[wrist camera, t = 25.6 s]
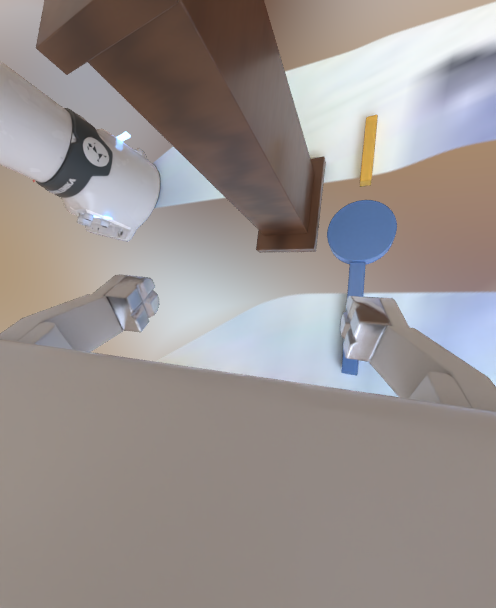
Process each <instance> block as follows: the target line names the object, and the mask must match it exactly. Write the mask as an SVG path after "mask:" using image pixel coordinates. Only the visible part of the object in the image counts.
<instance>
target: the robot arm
mask: <svg viewBox="0 0 496 608" xmlns="http://www.w3.org/2000/svg"><path fill="white" fill-rule="evenodd" d="M129 137H131V136H130V134H128V133H127V132H124V133H123V134H121V135H119V136H118V137H115V136H113V135H112V134H110V133H109V132H107V131H105V130H104V129H97V130H96V129H95V128H94V127H93V126H92V125H91V124H89V123H88V122H87V121H86V120H85V119H84V118H83V117H81V116H80V115H78V114H76V113H74V112H73V111H72V110H70V109H68V108H62V107H61V106H60V105H59V104H57V103H56V102H55V101H53V100H52V99H51V98H49V97H48V96H47V95H45V94H44V93H43V92H41V91H40V90H39V89H37V88H36V87H35V86H33V85H32V84H31V83H29V82H28V81H27V80H25V79H24V78H22V77H21V76H20V75H19V74H17V73H16V72H14V71H13V70H12V69H11V68H9V67H8V66H7V65H5V64H4V63H2V62H0V165H1V166H4V167H6V168H9V169H11V170H13V171H16V172H18V173H20V174H22V175H25V176H27V177H29V178H31V179H33V182H35V181H36V182H37V183H38V184H39V185H40V186H42V187H44V188H45V189H46V190H47V191H49V192H51V193H54V194H55V195H57V196H59V197H61V199H62V201H63V203H64V205H65V208H66V209H67V211H68V212H69V213H71V214H74V215H76V216H78V219H77V223H79V224H82V225H85V228H86V230H87V231H89V232H91V233H95V234H98V235H102V236H106V237H110V238H114V239H118V240H122V241H126V242H128V241H130V240H131V238H132V237H133V236H134V234H135V232H136V230H137V229H138V228H139V227H140V226H141V225H142V224H143V223H144V222H145V221H146V220H147V218H148V217H149V216H150V214H151V213H152V211H153V209H154V207H155V205H156V203H157V200H158V196H159V191H160V177H159V173H158V170H157V168H156V167H155V165H154V164H152V163H151V162H150V161H149V160H148V159H147V157H146V154H145V152H144V151H143V150H141V149H139V148H137V149H135V150H134V149H132V148H131V147H129V146H128V145H126V144H125V143H124V142H122V141H124V140H126V139H127V138H129ZM154 288H155V285H154V282H153V280H152V279H151V278H148V277H138V276H130V275H129V276H128V275H115V276H113V277H112V278H111V279H110V280H109V281H108V282H106V283H105V284H104V285H102V286H101V287H100V288H99V289H97V290H96V291H95V292H94V293H93V294H91V295H90V294H87V295H85V296H82V297H79V298H76V299H73V300H71V301H68V302H65V303H62V304H60V305H57V306H54V307H51V308H49V309H46V310H43V311H40V312H37V313H35V314H32V315H29V316H27V317H24V318H22V319H20V320H19V321H17V322H16V323H15V324H13V325H12V326H10V327H9V328H7V329H6V330H4V331H3V332H2V333H0V608H496V387H495V385H494V384H493V383H492V381H491V380H490V379H489V378H488V377H487V376H485V375H484V374H482V373H481V372H479V371H478V370H476V369H475V368H473V367H472V366H470V365H469V364H467V363H466V362H464V361H463V360H461V359H460V358H458V357H457V356H455V355H454V354H452V353H451V352H449V351H448V350H446V349H445V348H443V347H442V346H440V345H439V344H437V343H436V342H434V341H433V340H431V339H430V338H428V337H427V336H425V335H424V334H422V333H421V332H419V331H418V330H416V329H415V328H409V326H408V324H407V322H406V320H405V318H404V316H403V315H402V313H401V311H400V309H399V307H398V305H397V303H396V302H395V300H394V299H392V298H375V297H361V296H349V297H348V299H347V302H346V308H347V310H346V311H345V312H344V313H343V315H342V318H341V324H340V332H341V336H342V337H343V338H344V339H345V340H344V343H343V348H344V353H345V358H348V359H354V360H361V361H368V362H369V363H370V364H371V365H372V366H373V368H374V369H375V370H376V371H377V372H378V373H379V374H380V376H381V377H382V378H383V379H384V380H385V381H386V382H387V384H388V385H389V386H390V387H391V388H392V389H393V391H394V392H395V393H396V394H397V395H398V396H399V397H393V396H387V395H380V394H373V393H366V392H359V391H352V390H345V389H338V388H331V387H324V386H317V385H311V384H304V383H297V382H290V381H284V380H277V379H270V378H263V377H256V376H250V375H243V374H236V373H229V372H222V371H216V370H209V369H202V368H195V367H188V366H181V365H174V364H167V363H161V362H154V361H146V360H140V359H133V358H126V357H119V356H112V355H106V354H99V353H92V352H91V351H93V350H94V349H96V348H98V347H99V346H101V345H102V344H104V343H106V342H107V341H109V340H110V339H112V338H113V337H115V336H117V335H118V334H120V333H121V332H123V330H124V331H134V332H142V331H143V329H144V328H145V327H146V325H147V324H148V323H149V317H151V316H153V315H155V314H156V312H157V311H158V308H159V297H158V295H157V293H155V292H154V291H153V289H154Z"/></svg>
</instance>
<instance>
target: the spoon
mask: <svg viewBox="0 0 496 608" xmlns="http://www.w3.org/2000/svg"><path fill="white" fill-rule="evenodd" d="M396 230H397V223H396V218H395V216H394V214H393V212H392V211H391V210H390V209H389V208H388V207H387V206H386V205H384V204H382V203H380V202H377V201H373V200H361V201H356V202H353V203H350V204H348V205H346V206H345V207H343V208H342V209H340V210H339V211H338V212H337V213H336V214H335V216H334V217H333V218H332V220H331V222H330V224H329V227H328V232H327V238H328V243H329V246H330V248H331V251H332V252H333V254H334V255H335V256H336V257H337V258H338V259H339V260H341V261H342V262H345V263H347V264H350V268H349V282H348V294H347V299H348V297H349V296H361V297H363V290H364V277H365V264H369V263H372V262H374V261H376V260H378V259H379V258H381V257H382V256H383V255H384V254H385V253H386V252H387V251H388V250H389V248H390V247H391V245H392V243H393V240H394V237H395V234H396ZM346 310H347V308H346ZM344 340H345V339H344ZM342 373H346V374H351V375H357V373H358V360H354V359H348V358H345V353H344V348H343V359H342Z"/></svg>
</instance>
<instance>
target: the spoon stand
mask: <svg viewBox="0 0 496 608" xmlns="http://www.w3.org/2000/svg"><path fill="white" fill-rule="evenodd" d="M36 49H37V50H39V51H40V52H41V53H42V54H43V55H44V56H45V57H47V58H48V59H49V60H50V61H51V62H52V63H54V64H55V65H56V66H57V67H58V68H59V69H60V70H62V71H63V72H64V73H65V74H66V75H68V74H69V73H71V72H72V71H74V70H75V69H77V68H79V67H80V66H82V65H83V64H85V63H86V62H88V63H89V64H90V65H91V66H92V67H93V68H94V69H95V70H96V71H97V72H98V73H99V74H100V75H101V76H102V77H103V78H104V79H105V80H107V82H108V83H110V85H112V86H113V87H114V88H115V89H116V90H117V91H118V92H119V93H120V94H121V95H122V96H123V97H124V98H125V99H126V100H127V101H128V102H129V103H130V104H131V105H132V106H133V107H134V108H135V109H136V110H137V111H138V112H139V113H140V114H141V115H142V116H143V117H144V118H145V119H146V120H147V121H148V122H149V123H150V124H151V125H152V126H153V127H154V128H155V129H156V130H157V131H158V132H159V133H160V134H162V136H164V138H166V139H167V140H168V141H169V142H170V143H171V144H172V145H173V146H174V147H175V148H176V149H177V150H178V151H179V152H180V153H181V154H182V155H183V156H184V157H185V158H186V159H187V160H188V161H189V162H190V163H191V164H192V165H193V166H194V167H195V168H196V169H197V170H198V171H199V172H200V173H201V174H202V175H203V176H204V177H205V178H206V179H207V180H208V181H209V182H210V183H211V184H212V185H213V186H214V187H215V188H216V189H217V190H219V191H220V192H221V193H222V194H223V195H224V196H225V197H226V198H227V199H228V200H229V201H230V202H231V203H232V204H233V205H234V206H235V207H236V208H237V209H238V210H239V211H240V212H241V213H242V214H243V215H244V216H245V217H246V218H247V219H248V220H249V221H250V222H251V223H252V224H253V225H254V226H255V227H256V228H257V229H258V230H259V231H258V239H257V247H256V250H257V251H258V252H315V251H316V246H317V237H318V228H319V218H320V209H321V200H322V190H323V181H324V172H325V163H326V162H325V158H324V157H319V158H314V159H310V156H309V152H308V149H307V146H306V142H305V139H304V135H303V132H302V129H301V125H300V122H299V118H298V115H297V112H296V108H295V105H294V101H293V98H292V94H291V91H290V88H289V84H288V81H287V77H286V74H285V71H284V67H283V64H282V60H281V57H280V54H279V50H278V47H277V43H276V40H275V37H274V33H273V30H272V27H271V23H270V20H269V16H268V13H267V10H266V6H265V3H264V0H44V6H43V12H42V17H41V22H40V28H39V34H38V39H37V44H36Z"/></svg>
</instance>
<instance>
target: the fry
mask: <svg viewBox="0 0 496 608" xmlns="http://www.w3.org/2000/svg"><path fill="white" fill-rule="evenodd" d="M377 117H378V115H373V116H369V117H367V118H366V125H365V135H364V145H363V155H362V165H361V175H360V187H362V186H370V185H371V180H372V169H373V159H374V149H375V138H376V128H377Z"/></svg>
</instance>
